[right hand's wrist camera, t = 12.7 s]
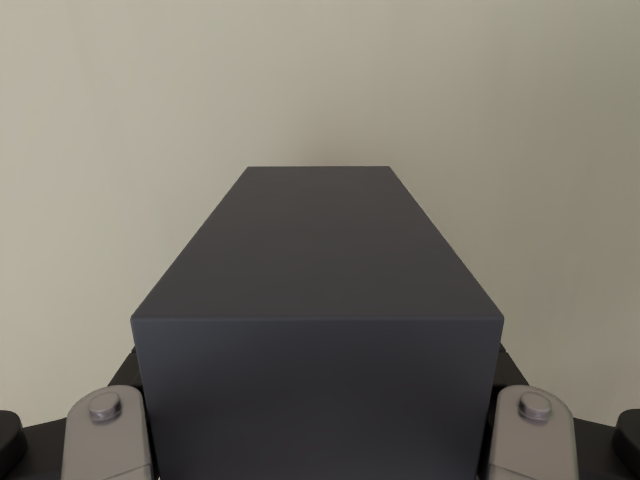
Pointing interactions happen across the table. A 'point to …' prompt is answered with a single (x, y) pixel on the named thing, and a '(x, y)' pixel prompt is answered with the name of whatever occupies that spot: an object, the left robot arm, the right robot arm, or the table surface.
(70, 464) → the right robot arm
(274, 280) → the box
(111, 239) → the table surface
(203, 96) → the table surface
